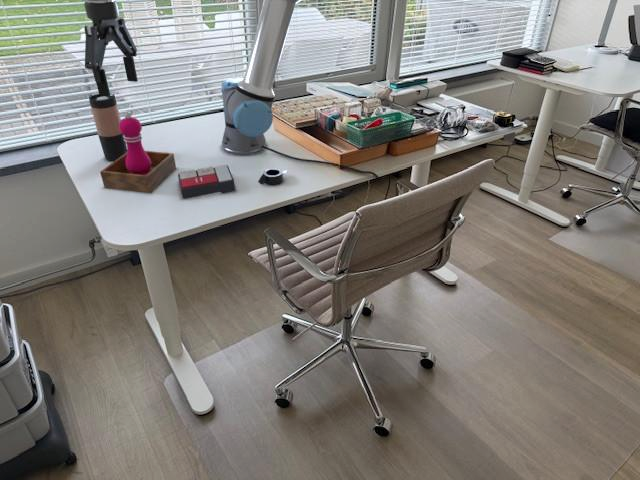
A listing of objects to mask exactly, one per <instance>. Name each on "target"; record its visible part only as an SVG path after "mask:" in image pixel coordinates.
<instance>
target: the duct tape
mask: <svg viewBox="0 0 640 480" xmlns="http://www.w3.org/2000/svg"><path fill="white" fill-rule="evenodd" d="M286 173H288V170H282V169H280V168H276V167H271V168H267V169H265V170H263V172H262V174H261V176H260V177H259V179H258V181H257V183H258V184H260V185H261V186H263V185H267V186H271V187H273V186H279V185H281V184H283V182H284V178H283V177H284V174H286Z"/></svg>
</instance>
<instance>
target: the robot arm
mask: <svg viewBox="0 0 640 480" xmlns="http://www.w3.org/2000/svg"><path fill="white" fill-rule="evenodd" d="M301 1H302V0H263V3H262V6H261V11H260V15H259V19H258V22H257V26H256V29H255V33H254V37H253V41H252V45H251V49H250V53H249V57H248V61H247V65H246V69H245V73H244V77H240V78H239V77H238V78H230V79H226V80H223V81H222V82H221V90H220V91H221V94H222V104H223V115H224V132H223V136H222V140H221V147H222V150H223V151H224V152H225V153H227V154H230V155H233V156H234V155H235V156H251V155H255V154H259V153H261V152H264V151H265V150H267V151H270V152H272V153H274V154H277V155H280V156H282V157H286V158H288V159H291V160H296V161H301V162H307V163H309V162H310V163H317V164H324V165H329V166H330V165H331V166H336V167H341V168H344V169H347V170H349V171H354V172H357V173H360V174H370V175H373V176H374V177H375V178H376V179H380V176H379V175H378V174H377V173H375V171H370V170H360V169H357V168H354V167H351V166H348V165H345V164H341V165H339V164H340V163H336V162H330V161H324V160H317V159H306V158H301V157H300V158H299V157H295V156H292V155H289V154H285V153H283V152H281V151H278V150H275V149H273V148H270V147H268V146H267V139H266V137H265V133H267V132H268V130H269V129H271V127H272V124H273V120H274V114H273V110H272V108H273V104H274V101H275V97H276V94H275V92H274V90H273V86H274V82H275V79H276V75H277V71H278V68H279V65H280V61H281V57H282V54H283V49H284V47H285V43H286V40H287V36H288V33H289V29H290V25H291V22H292V19H293V15H294V13H295V8H296V5H297V4H298V3H300V2H301ZM83 6H84V10H85V13H86V17H87V19H89V20H91V22H92V25H85V26H84V27H83V29H84V34H85V45H84V46H85V48H84V68H85V69H86V70H87V69H88V70H91V71H92V74H93V78H94V82H95V84H96V88H97V91H98V94H99V95H105V96H109V95H110V96H111V91H110V88H109V82H108V78H107V74H106V71H105V68H102V67H103V64H104V58H105V54H106V48H107V46H108V45H109V43H111V42H112V41H113V43H114V44H115V46H116V47H117V48H118V49H119V50H120V52H121V53H122V54H123V55H124V56H122V61H123V65H124V70H125V75H126V80H127V82H134V83H136V82H138V81H139V80H138V75H137V70H136V65H135V64H136V63H135V59H134V57H137V56H138V54H137V53H138V48H137V45H136V43H135V42H134V40H133V38H132V36H131V34H130V31H129V30H128V28H127V25H126V22H125V18H123V17H120V12H119V7H118V3H117V1H116V0H85V1H84V5H83Z"/></svg>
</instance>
